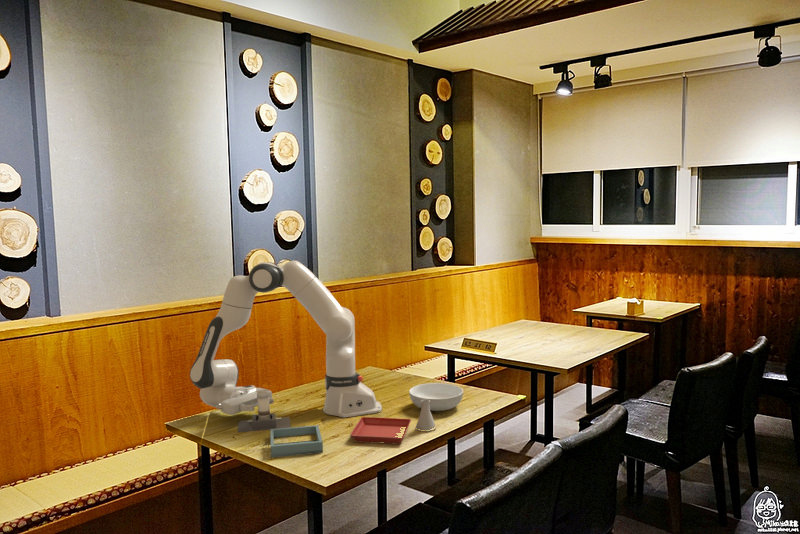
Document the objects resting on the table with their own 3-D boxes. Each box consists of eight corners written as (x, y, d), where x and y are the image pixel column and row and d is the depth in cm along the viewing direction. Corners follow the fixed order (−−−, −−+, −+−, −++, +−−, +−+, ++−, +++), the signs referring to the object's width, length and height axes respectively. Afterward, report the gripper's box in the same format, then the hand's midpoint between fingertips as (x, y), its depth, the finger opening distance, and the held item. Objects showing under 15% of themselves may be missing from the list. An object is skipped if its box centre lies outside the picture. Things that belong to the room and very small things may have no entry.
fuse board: (289, 419, 227) (289, 410, 227) (290, 430, 216) (290, 420, 215) (239, 423, 223) (238, 414, 223) (237, 435, 212) (237, 425, 211)
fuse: (270, 421, 222) (269, 389, 221) (270, 425, 218) (269, 392, 217) (258, 422, 221) (256, 389, 220) (257, 426, 217) (256, 393, 216)
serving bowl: (398, 406, 241) (398, 389, 240) (439, 396, 254) (438, 380, 253) (433, 420, 225) (433, 401, 224) (474, 408, 237) (474, 391, 237)
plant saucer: (403, 447, 200) (403, 437, 200) (349, 444, 203) (349, 434, 203) (411, 428, 218) (411, 418, 217) (361, 425, 221) (361, 416, 220)
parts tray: (318, 435, 211) (318, 425, 210) (322, 452, 195) (322, 441, 195) (270, 439, 207) (270, 429, 207) (271, 457, 192) (270, 446, 191)
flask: (429, 433, 211) (429, 405, 210) (411, 430, 214) (411, 402, 214) (439, 427, 217) (439, 399, 216) (422, 424, 221) (421, 396, 220)
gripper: (212, 398, 218) (240, 404, 210) (255, 384, 235) (282, 389, 227) (213, 415, 218) (240, 422, 211) (255, 400, 235) (282, 405, 228)
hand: (262, 404), depth 219 cm, fingers open, 8 cm apart
